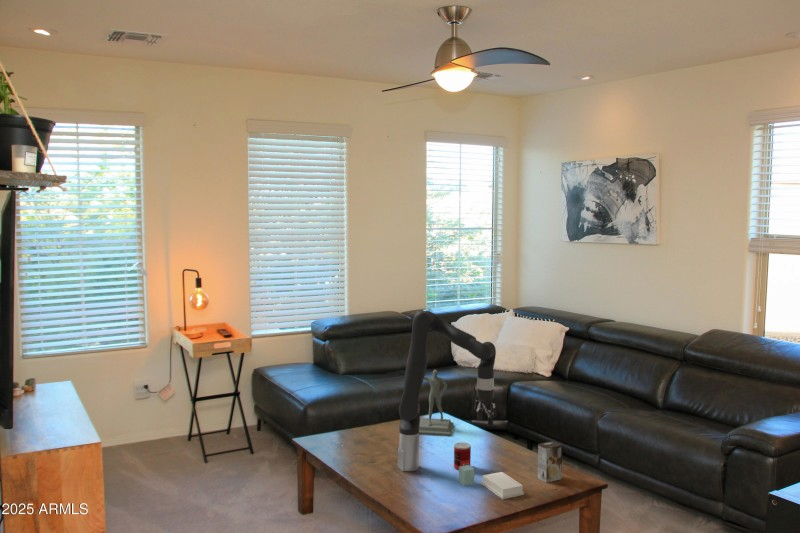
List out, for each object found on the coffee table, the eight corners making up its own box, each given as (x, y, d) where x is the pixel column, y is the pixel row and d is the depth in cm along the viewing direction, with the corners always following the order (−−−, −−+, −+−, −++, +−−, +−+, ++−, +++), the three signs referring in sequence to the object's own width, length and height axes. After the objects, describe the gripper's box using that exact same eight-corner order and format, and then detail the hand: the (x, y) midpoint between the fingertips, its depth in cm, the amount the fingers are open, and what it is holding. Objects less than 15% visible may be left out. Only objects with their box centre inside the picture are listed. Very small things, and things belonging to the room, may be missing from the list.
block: (464, 486, 291) (464, 470, 291) (458, 482, 296) (458, 466, 295) (474, 484, 293) (474, 469, 293) (468, 480, 298) (468, 465, 297)
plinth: (502, 499, 278) (502, 490, 278) (481, 483, 294) (481, 475, 293) (524, 494, 283) (524, 485, 283) (502, 479, 298) (502, 471, 298)
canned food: (472, 466, 314) (472, 443, 313) (467, 472, 307) (467, 449, 306) (457, 463, 317) (457, 441, 316) (451, 469, 310) (451, 446, 309)
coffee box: (552, 474, 305) (553, 440, 304) (562, 479, 299) (563, 444, 298) (536, 477, 301) (537, 443, 299) (546, 483, 295) (547, 448, 294)
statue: (412, 434, 359) (413, 369, 356) (417, 422, 378) (418, 361, 375) (450, 436, 355) (451, 371, 352) (453, 425, 374) (454, 363, 371)
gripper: (469, 384, 299) (469, 419, 300) (487, 392, 286) (486, 428, 287) (483, 382, 302) (483, 417, 303) (501, 390, 289) (501, 426, 291)
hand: (485, 422), depth 295 cm, fingers open, 8 cm apart
